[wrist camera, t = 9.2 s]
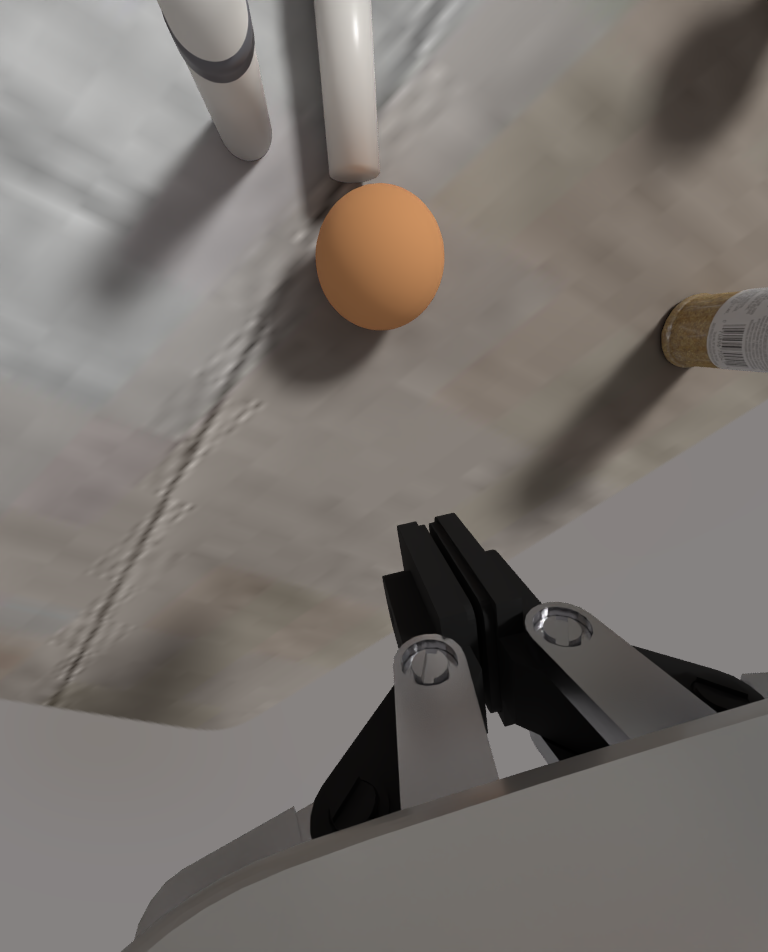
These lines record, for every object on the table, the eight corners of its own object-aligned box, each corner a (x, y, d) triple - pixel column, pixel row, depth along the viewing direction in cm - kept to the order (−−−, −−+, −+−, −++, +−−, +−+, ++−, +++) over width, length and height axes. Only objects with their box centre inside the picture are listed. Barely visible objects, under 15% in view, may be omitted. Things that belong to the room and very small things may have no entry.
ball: (308, 143, 16) (306, 268, 21) (331, 250, 14) (322, 358, 19) (443, 156, 17) (409, 270, 23) (481, 254, 15) (434, 353, 21)
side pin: (226, 165, 19) (155, 26, 10) (209, 99, 18) (118, -111, 9) (278, 158, 19) (251, 17, 11) (264, 93, 18) (223, -118, 10)
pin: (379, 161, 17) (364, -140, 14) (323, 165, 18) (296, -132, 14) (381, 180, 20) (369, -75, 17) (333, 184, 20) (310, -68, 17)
